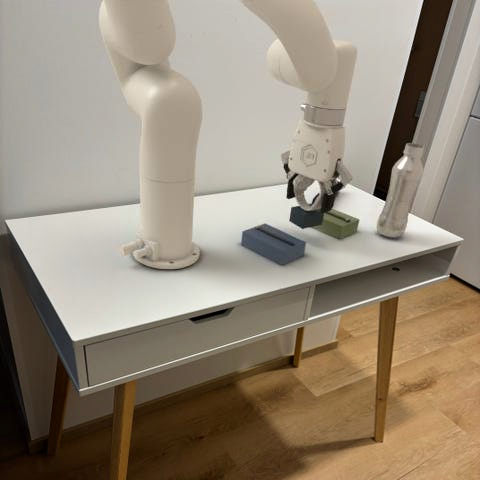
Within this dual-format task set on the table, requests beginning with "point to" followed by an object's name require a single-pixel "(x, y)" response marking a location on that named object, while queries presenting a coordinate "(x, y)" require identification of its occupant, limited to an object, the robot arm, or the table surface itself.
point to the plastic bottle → (401, 192)
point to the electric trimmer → (318, 195)
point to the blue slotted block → (273, 243)
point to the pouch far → (338, 224)
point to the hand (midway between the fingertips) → (308, 204)
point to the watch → (306, 204)
